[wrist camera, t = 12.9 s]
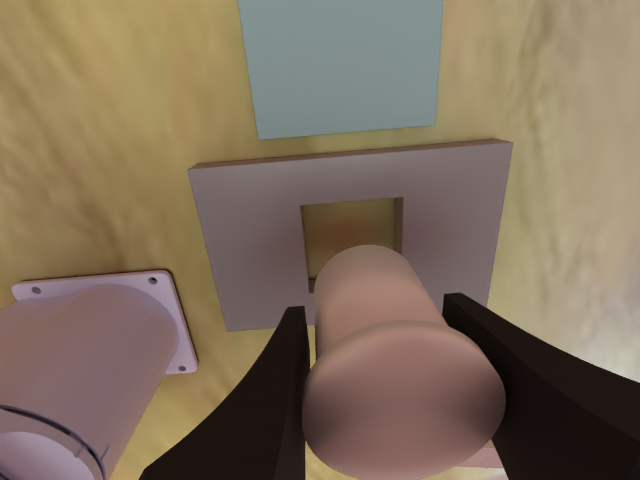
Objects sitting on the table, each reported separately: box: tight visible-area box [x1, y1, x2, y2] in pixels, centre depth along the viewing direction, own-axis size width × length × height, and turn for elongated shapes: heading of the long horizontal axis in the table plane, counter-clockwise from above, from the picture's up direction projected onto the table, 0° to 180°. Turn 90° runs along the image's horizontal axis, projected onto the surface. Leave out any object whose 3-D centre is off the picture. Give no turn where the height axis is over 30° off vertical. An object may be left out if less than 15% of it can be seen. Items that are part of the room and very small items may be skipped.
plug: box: [302, 245, 506, 480], centre depth 11 cm, size 5×5×6 cm
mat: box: [238, 0, 443, 140], centre depth 15 cm, size 9×9×1 cm
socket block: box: [187, 139, 513, 332], centre depth 18 cm, size 16×10×2 cm, turn 94°
